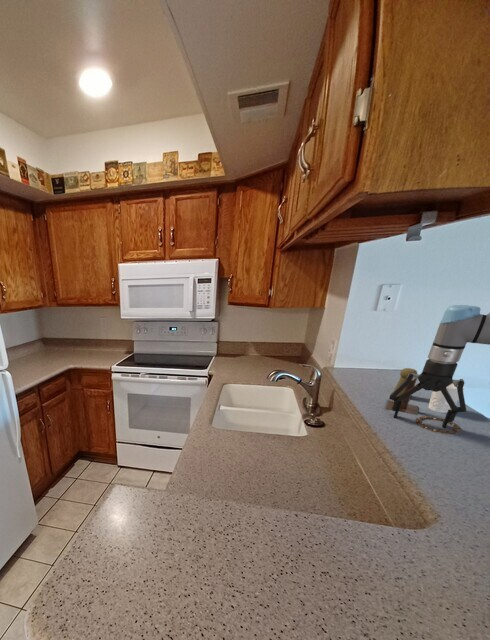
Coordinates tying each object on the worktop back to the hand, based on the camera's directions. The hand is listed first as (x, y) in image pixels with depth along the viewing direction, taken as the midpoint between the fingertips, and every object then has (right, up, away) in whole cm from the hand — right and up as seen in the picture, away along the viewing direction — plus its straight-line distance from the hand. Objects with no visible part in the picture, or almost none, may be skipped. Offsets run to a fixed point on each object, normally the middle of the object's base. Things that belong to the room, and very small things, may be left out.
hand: (417, 424), depth 108 cm
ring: (+4, -1, -3) cm, 5 cm away
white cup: (+15, +5, +9) cm, 18 cm away
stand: (+2, +5, +10) cm, 11 cm away
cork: (+11, +12, +23) cm, 28 cm away
